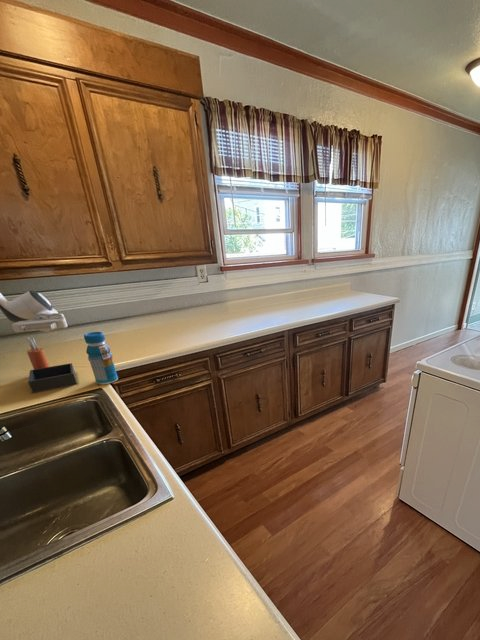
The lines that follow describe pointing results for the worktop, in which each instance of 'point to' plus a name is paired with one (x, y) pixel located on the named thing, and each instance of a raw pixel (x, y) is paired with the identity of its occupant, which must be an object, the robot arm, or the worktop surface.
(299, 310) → the worktop surface
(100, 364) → the beverage bottle
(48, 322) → the robot arm
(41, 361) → the cutlery cup
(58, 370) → the bin
